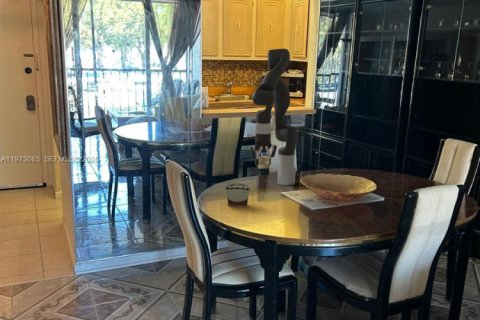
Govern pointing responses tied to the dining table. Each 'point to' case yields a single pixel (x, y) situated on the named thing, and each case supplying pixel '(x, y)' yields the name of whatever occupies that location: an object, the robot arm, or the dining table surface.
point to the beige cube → (263, 162)
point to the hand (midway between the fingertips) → (262, 165)
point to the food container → (237, 194)
